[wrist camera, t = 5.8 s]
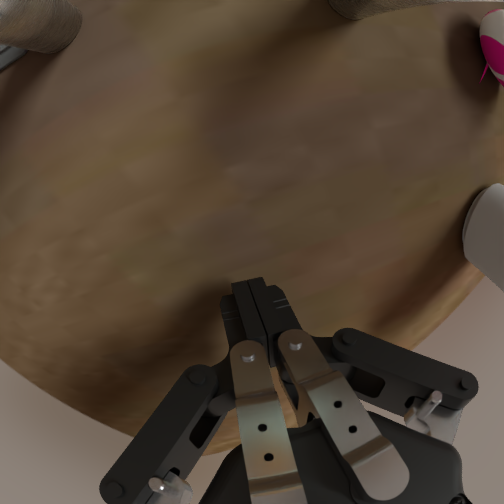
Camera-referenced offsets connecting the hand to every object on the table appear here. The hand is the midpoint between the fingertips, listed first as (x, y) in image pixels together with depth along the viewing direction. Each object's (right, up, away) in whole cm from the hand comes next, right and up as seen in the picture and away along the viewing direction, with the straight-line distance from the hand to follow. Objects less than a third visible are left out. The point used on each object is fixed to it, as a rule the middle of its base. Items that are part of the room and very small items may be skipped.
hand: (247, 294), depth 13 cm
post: (-8, +11, -7) cm, 15 cm away
